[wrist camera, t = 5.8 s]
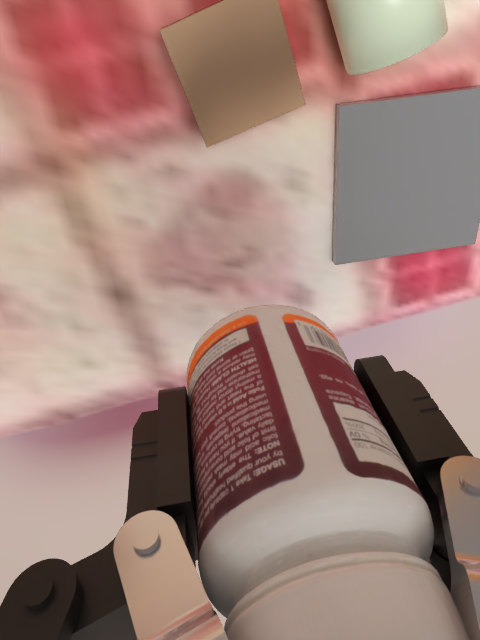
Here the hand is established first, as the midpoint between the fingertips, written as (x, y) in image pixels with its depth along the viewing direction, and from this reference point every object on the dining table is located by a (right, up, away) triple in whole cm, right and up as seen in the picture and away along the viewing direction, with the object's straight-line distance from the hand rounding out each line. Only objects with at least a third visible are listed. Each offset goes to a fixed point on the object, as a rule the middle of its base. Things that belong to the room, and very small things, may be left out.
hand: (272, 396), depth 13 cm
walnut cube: (-2, +15, +9) cm, 17 cm away
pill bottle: (0, +1, +1) cm, 2 cm away
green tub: (+6, +14, +8) cm, 17 cm away
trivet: (+9, +10, +13) cm, 19 cm away
